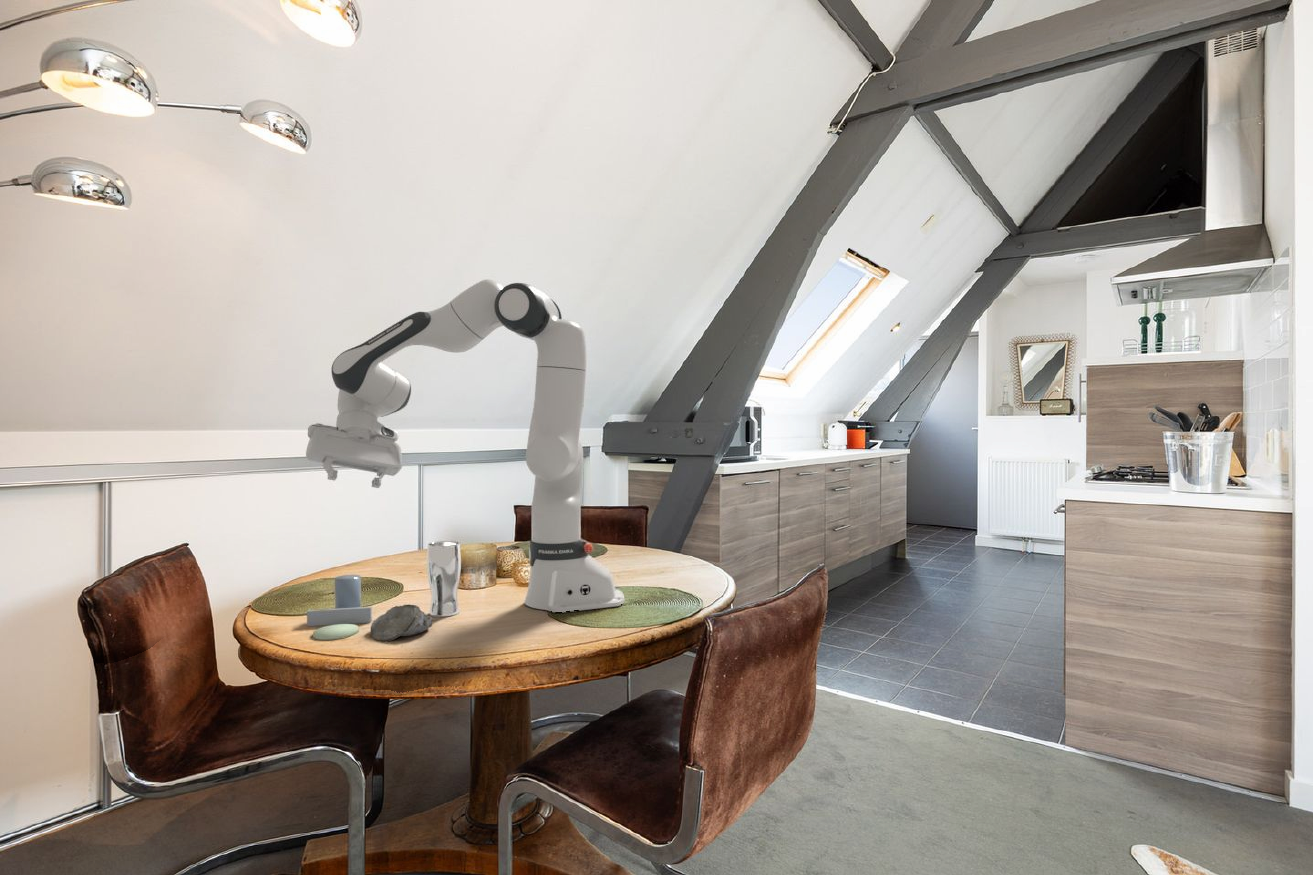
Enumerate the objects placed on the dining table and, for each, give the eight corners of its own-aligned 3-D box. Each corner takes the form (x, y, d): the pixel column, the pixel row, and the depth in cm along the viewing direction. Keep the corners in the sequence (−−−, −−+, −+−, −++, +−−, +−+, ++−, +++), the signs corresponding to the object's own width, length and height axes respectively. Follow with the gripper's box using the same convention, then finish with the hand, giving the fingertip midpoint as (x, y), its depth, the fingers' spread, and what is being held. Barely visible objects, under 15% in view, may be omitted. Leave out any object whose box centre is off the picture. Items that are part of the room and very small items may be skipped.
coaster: (363, 625, 133) (363, 622, 133) (353, 638, 125) (353, 635, 125) (320, 628, 131) (320, 625, 131) (307, 641, 123) (307, 638, 123)
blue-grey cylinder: (363, 610, 144) (363, 574, 143) (357, 617, 139) (357, 579, 138) (338, 612, 143) (338, 575, 142) (332, 618, 138) (331, 580, 137)
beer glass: (451, 618, 137) (450, 547, 137) (420, 616, 139) (420, 545, 139) (467, 609, 144) (466, 541, 144) (438, 607, 146) (437, 540, 145)
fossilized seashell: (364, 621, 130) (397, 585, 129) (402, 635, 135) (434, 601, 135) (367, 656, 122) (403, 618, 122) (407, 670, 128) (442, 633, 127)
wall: (371, 621, 136) (371, 606, 136) (370, 622, 135) (370, 607, 135) (308, 624, 134) (308, 609, 133) (307, 626, 133) (306, 611, 132)
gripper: (313, 413, 145) (309, 466, 138) (405, 434, 158) (405, 483, 151) (304, 429, 149) (299, 481, 141) (394, 448, 162) (394, 497, 154)
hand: (354, 482), depth 146 cm, fingers open, 8 cm apart
